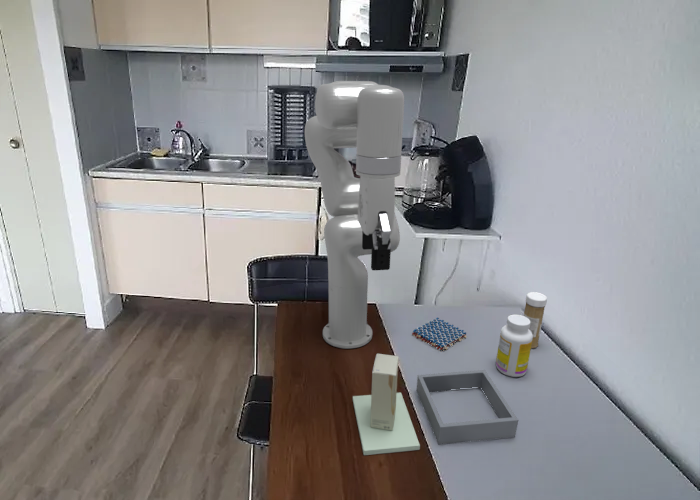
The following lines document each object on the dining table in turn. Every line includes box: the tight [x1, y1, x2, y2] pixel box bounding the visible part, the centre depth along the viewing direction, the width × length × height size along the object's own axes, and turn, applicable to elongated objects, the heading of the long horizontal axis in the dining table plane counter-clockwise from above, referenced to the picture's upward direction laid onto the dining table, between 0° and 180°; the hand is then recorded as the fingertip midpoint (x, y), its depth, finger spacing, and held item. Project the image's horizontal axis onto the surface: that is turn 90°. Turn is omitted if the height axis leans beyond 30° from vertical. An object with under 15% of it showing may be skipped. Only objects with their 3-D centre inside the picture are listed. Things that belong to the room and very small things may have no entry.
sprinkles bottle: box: [523, 291, 548, 349], centre depth 106 cm, size 5×5×14 cm
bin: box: [416, 369, 519, 445], centre depth 86 cm, size 15×15×4 cm
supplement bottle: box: [495, 314, 533, 378], centre depth 97 cm, size 7×7×13 cm
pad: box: [352, 392, 421, 456], centre depth 83 cm, size 14×10×1 cm
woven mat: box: [411, 317, 468, 351], centre depth 112 cm, size 10×11×2 cm
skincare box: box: [370, 353, 400, 430], centre depth 81 cm, size 6×4×12 cm
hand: (375, 258), depth 80 cm, fingers open, 9 cm apart
